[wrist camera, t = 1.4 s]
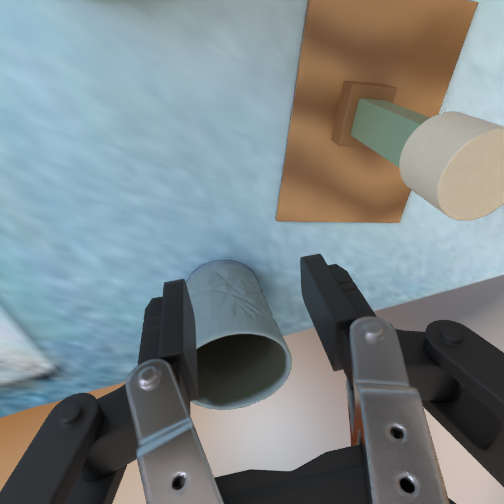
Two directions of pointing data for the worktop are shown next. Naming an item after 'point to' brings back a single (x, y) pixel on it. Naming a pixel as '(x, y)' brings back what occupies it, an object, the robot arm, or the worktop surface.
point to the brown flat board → (369, 71)
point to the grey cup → (235, 338)
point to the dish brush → (427, 149)
